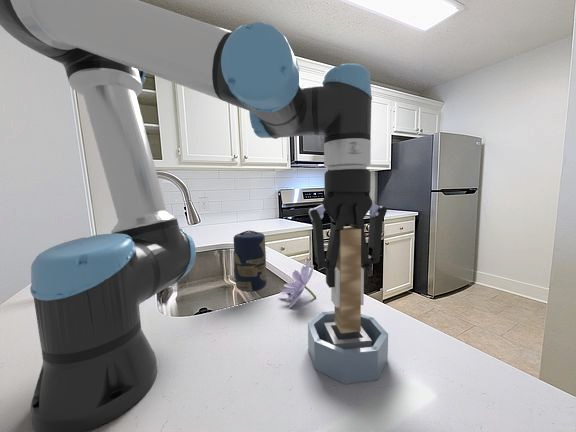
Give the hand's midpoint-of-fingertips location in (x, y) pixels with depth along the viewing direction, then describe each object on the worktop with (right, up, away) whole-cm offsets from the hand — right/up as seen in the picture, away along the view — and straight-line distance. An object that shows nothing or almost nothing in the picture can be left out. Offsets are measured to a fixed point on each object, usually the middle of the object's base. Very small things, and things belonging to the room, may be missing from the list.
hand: (347, 302), depth 44 cm
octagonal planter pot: (0, -10, +1) cm, 10 cm away
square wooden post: (0, -5, 0) cm, 5 cm away
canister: (-22, -7, +33) cm, 40 cm away
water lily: (-8, -8, +25) cm, 27 cm away
